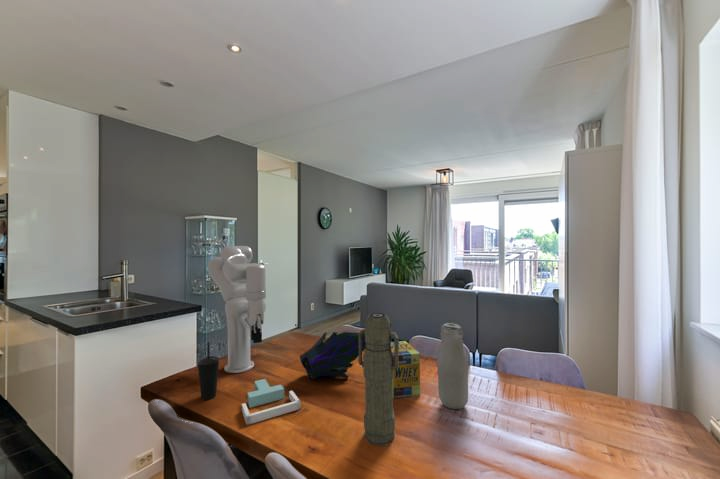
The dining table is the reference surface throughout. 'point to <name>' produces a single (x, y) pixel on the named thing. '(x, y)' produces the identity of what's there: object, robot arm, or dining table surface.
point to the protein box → (406, 372)
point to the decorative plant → (332, 355)
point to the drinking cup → (208, 375)
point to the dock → (271, 410)
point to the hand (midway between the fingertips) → (256, 340)
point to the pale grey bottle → (452, 367)
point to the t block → (264, 393)
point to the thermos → (378, 378)
